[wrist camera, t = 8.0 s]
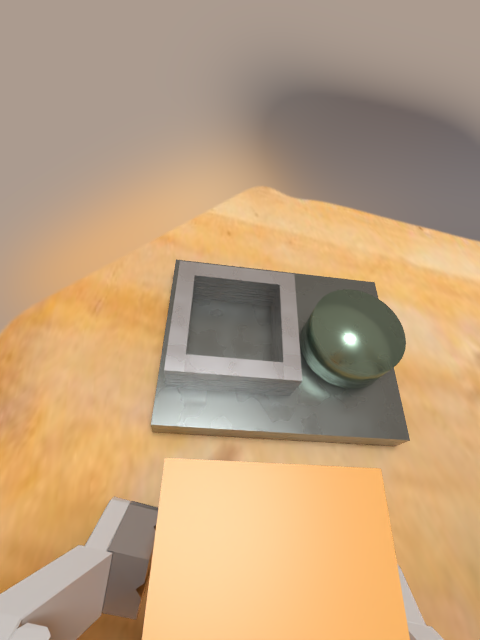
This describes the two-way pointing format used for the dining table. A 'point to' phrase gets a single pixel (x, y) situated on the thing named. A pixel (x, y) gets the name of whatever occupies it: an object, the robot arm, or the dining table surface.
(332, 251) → the dining table surface
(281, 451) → the dining table surface
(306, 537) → the tall orange prism
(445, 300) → the dining table surface
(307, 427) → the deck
